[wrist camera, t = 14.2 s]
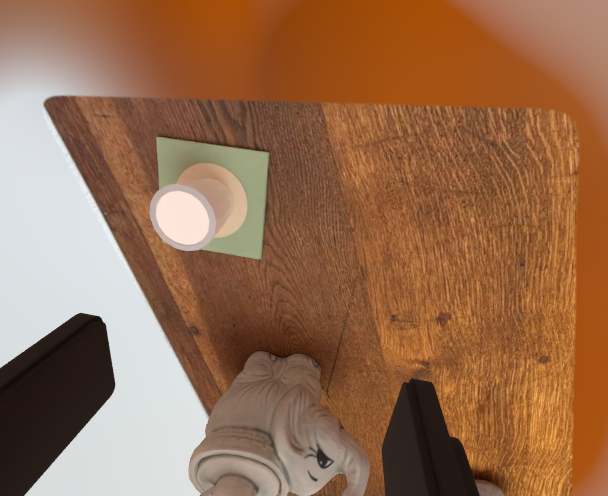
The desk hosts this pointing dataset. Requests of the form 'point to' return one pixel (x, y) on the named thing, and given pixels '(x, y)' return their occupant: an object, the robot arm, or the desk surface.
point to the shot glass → (191, 212)
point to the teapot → (275, 435)
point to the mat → (232, 173)
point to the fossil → (488, 488)
